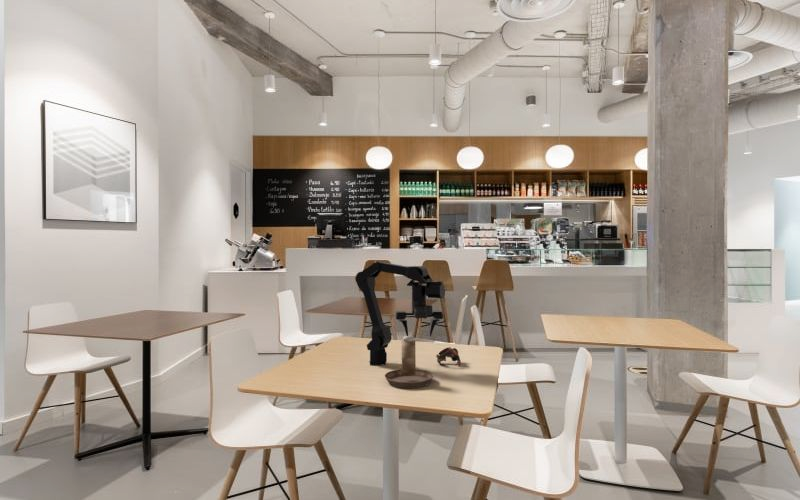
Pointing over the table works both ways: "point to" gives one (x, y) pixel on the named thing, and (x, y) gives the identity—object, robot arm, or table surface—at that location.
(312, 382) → the table surface
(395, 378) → the plant saucer
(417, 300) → the robot arm
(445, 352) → the brown jagged crown
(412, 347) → the pepper mill
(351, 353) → the table surface
